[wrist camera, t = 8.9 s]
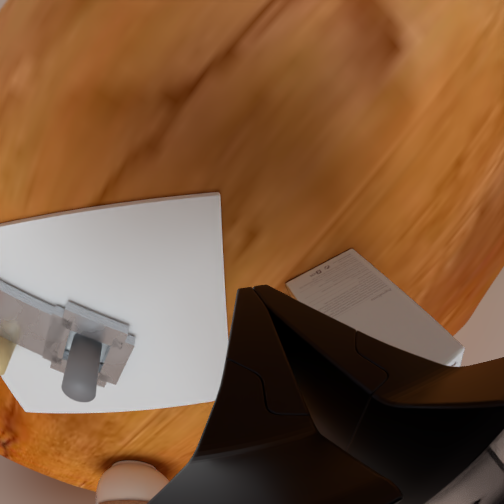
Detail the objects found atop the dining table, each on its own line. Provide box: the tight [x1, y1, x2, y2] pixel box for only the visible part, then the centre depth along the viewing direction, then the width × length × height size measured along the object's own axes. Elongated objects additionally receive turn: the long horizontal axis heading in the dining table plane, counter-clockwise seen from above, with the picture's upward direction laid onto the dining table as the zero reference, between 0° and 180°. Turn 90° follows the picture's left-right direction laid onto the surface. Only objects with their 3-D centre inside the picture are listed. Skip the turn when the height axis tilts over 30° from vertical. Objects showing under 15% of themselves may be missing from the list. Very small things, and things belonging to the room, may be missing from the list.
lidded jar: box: [96, 460, 169, 504], centre depth 27 cm, size 11×11×9 cm
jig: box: [0, 192, 228, 413], centre depth 19 cm, size 19×22×6 cm
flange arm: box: [0, 280, 135, 387], centre depth 16 cm, size 14×6×6 cm, turn 57°
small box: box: [286, 249, 465, 367], centre depth 20 cm, size 8×6×13 cm
